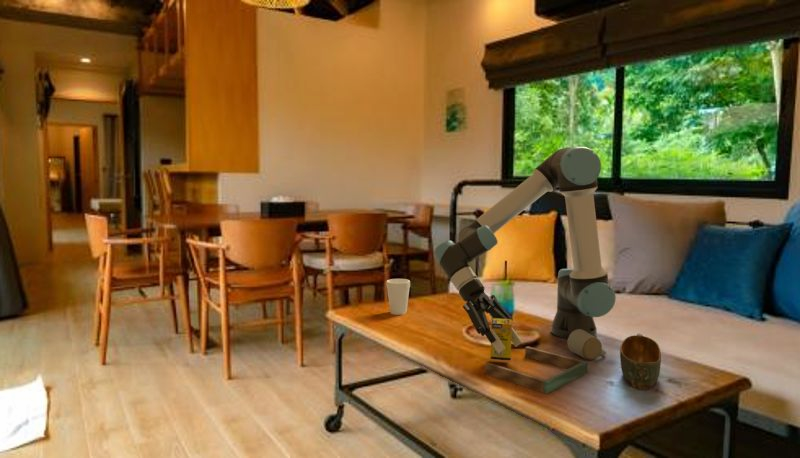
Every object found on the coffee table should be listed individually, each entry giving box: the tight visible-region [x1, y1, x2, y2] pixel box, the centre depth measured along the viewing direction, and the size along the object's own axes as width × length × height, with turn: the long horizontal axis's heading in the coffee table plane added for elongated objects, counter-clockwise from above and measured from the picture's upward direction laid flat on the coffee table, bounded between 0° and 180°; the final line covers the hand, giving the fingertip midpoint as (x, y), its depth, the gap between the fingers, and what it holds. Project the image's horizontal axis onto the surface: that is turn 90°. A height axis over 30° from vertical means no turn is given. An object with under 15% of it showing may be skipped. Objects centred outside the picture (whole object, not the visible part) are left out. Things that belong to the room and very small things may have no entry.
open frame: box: [484, 346, 589, 395], centre depth 154 cm, size 20×21×3 cm
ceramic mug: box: [567, 329, 607, 361], centre depth 168 cm, size 11×8×8 cm
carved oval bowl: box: [619, 333, 662, 391], centre depth 150 cm, size 13×20×10 cm, turn 131°
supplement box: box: [490, 317, 513, 361], centre depth 162 cm, size 6×6×11 cm
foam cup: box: [385, 278, 411, 316], centre depth 220 cm, size 10×9×13 cm
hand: (510, 347), depth 160 cm, fingers closed on supplement box, 8 cm apart
